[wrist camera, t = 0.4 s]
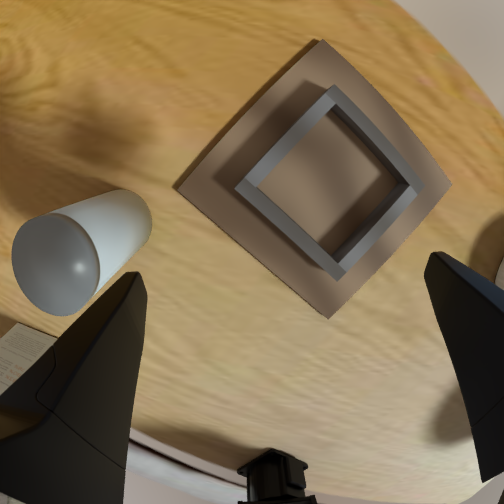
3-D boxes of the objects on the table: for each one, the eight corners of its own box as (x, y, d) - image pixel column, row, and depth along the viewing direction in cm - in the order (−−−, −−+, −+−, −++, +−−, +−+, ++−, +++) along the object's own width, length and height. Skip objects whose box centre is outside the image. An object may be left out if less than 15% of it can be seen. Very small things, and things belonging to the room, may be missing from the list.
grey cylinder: (128, 265, 25) (66, 334, 15) (82, 225, 24) (1, 270, 13) (165, 218, 24) (111, 265, 13) (116, 175, 23) (35, 194, 12)
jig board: (326, 316, 27) (334, 331, 24) (178, 189, 23) (171, 193, 21) (448, 183, 24) (465, 187, 21) (320, 41, 20) (329, 29, 18)
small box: (23, 365, 28) (-33, 437, 16) (17, 320, 26) (-54, 390, 14) (82, 389, 29) (35, 477, 17) (79, 345, 27) (17, 435, 15)
